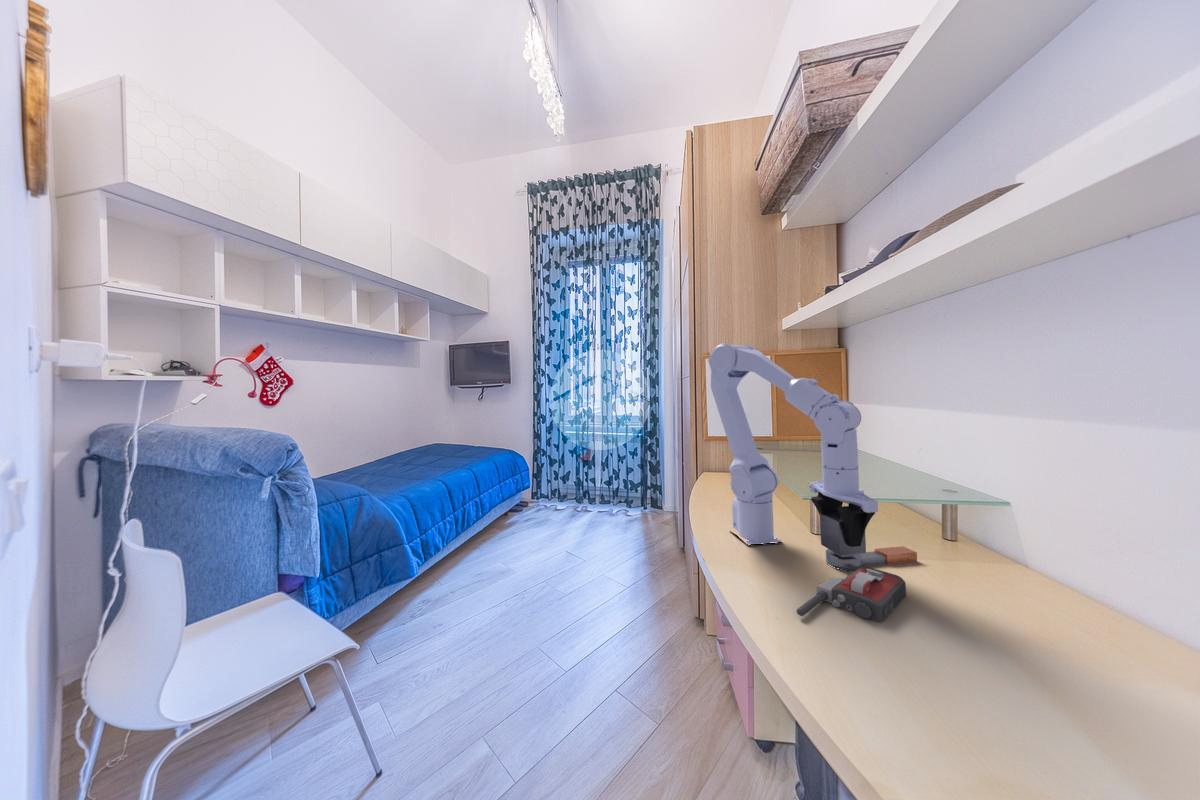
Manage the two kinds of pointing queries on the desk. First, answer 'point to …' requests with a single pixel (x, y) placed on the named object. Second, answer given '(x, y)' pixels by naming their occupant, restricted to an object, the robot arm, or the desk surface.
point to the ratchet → (871, 558)
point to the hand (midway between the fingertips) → (842, 539)
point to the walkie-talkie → (861, 593)
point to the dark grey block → (837, 535)
